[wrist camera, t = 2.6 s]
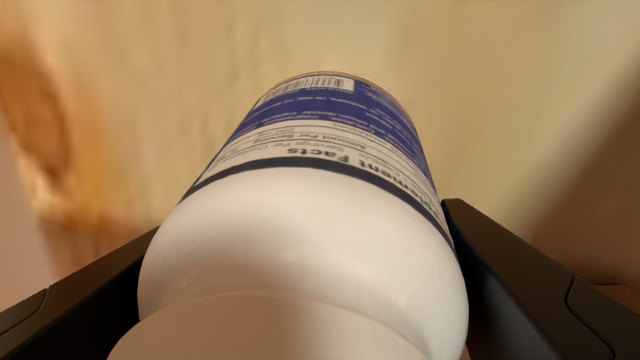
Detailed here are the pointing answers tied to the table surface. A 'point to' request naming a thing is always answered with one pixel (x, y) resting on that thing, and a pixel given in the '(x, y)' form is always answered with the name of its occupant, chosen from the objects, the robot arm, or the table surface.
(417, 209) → the pill bottle
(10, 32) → the table surface
